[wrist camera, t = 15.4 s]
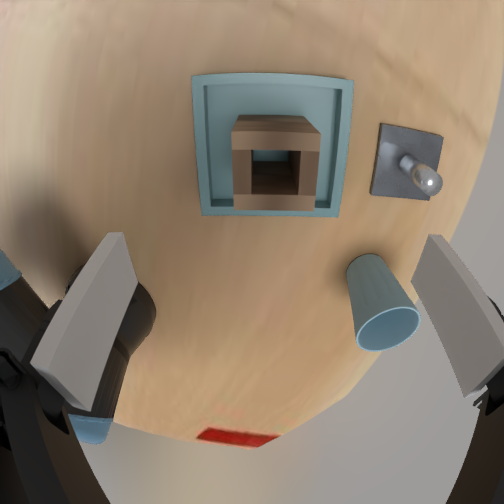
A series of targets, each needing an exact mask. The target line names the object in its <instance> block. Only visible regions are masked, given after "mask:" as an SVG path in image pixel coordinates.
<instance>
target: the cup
mask: <svg viewBox="0 0 504 504" xmlns="http://www.w3.org/2000/svg"><path fill="white" fill-rule="evenodd" d="M346 275H347V282H348V288H349V294H350V301H351V307H352V313H353V320H354V329H355V337H356V343H357V345H358V346H359V347H360V348H361V349H363V350H366V351H372V352H377V351H384V350H387V349H391V348H393V347H396V346H398V345H399V344H401V343H403V342H404V341H406V340H407V339H408V338H410V337H411V336H412V335H413V334H414V333H415V331H416V330H417V328H418V326H419V324H420V320H421V317H420V313H419V312H418V310H417V309H416V307H415V305H414V304H413V302H412V301H411V300H410V299H409V297H408V295H407V294H406V292H405V291H404V289H403V288H402V287H401V285H400V284H399V282H398V281H397V279H396V278H395V276H394V275H393V273H392V272H391V271H390V269H389V268H388V266H387V265H386V264H385V262H384V261H383V260H382V258H381V257H379V256H377V255H374V254H366V255H362V256H360V257H358V258H356V259H355V260H354V261H353V262H352V263H351V264H350V265H349V267H348V269H347V272H346Z"/></svg>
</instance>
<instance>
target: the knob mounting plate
mask: <svg viewBox="0 0 504 504" xmlns="http://www.w3.org/2000/svg"><path fill="white" fill-rule="evenodd" d="M443 138H444V137H442V136H440V135H436V134H432V133H428V132H423V131H419V130H414V129H409V128H404V127H399V126H394V125H388V124H383V123H380V131H379V138H378V146H377V152H376V159H375V165H374V171H373V177H372V183H371V188H370V194H371V195H374V196H386V197H398V198H408V199H418V200H427V201H429V200H430V196H434V195H436V194H437V193H438V192H439V191H440V190H441V188H442V184H443V181H442V177H441V176H440V175H439V174H438V173H437V168H438V163H439V159H440V154H441V149H442V144H443Z"/></svg>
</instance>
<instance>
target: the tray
mask: <svg viewBox="0 0 504 504" xmlns="http://www.w3.org/2000/svg"><path fill="white" fill-rule="evenodd" d="M353 87H354V81H353V80H346V79H339V78H331V77H322V76H312V75H299V74H282V73H226V74H209V75H196V76H192V97H193V115H194V131H195V145H196V158H197V170H198V182H199V193H200V203H201V213H202V216H208V215H248V216H308V217H338V216H339V210H340V203H341V197H342V190H343V183H344V176H345V169H346V161H347V153H348V144H349V135H350V125H351V114H352V102H353ZM239 115H293V116H304V117H305V118H306V119H307V120H308V121H309V122H310V123H311V124H312V125H313V126H314V127H315V128H316V129H317V130H318V131H319V132H320V133H321V142H320V155H319V166H318V177H317V187H316V197H315V206H314V211H272V210H234V198H233V171H232V141H231V131H232V129H233V127H234V124H235V122H236V120H237V118H238V116H239ZM288 154H289V150H253V161H287V162H288Z"/></svg>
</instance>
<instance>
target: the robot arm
mask: <svg viewBox="0 0 504 504" xmlns="http://www.w3.org/2000/svg"><path fill="white" fill-rule="evenodd" d="M411 283H412V285H413V286H414V288H415V290H416V292H417V294H418V296H419V298H420V299H421V301H422V303H423V305H424V307H425V309H426V311H427V313H428V315H429V317H430V319H431V321H432V323H433V325H434V327H435V329H436V331H437V333H438V336H439V338H440V340H441V342H442V344H443V347H444V349H445V351H446V353H447V356H448V358H449V360H450V363H451V365H452V367H453V370H454V373H455V375H456V378H457V380H458V383H459V385H460V388H461V390H462V393H463V396H464V398H466V397H468V396H471V395H473V394H476V393H477V392H479V391H480V390H481V389H482V388H483V387H484V386H485V385H487V388H488V390H487V391H486V392H484V393H483V394H482V395H481V396H480V397H479V398H478V399H477V400H476V401H474V404H473V406H476V405H477V404H478V403H479V402H480V401H481V400H482V403H481V404H480V405H479V406H478V407H477V408H479V409H480V412H479V416H478V420H477V424H476V427H475V431H474V434H473V437H472V440H471V443H470V446H469V450H468V452H467V455H466V458H465V461H464V463H463V466H462V469H461V471H460V473H459V476H458V478H457V480H456V483H455V485H454V487H453V489H452V492H451V494H450V496H449V498H448V500H447V502H446V504H504V316H503V315H501V312H500V310H499V308H498V307H497V306H496V304H495V303H494V302H493V301H492V300H491V299H490V298H489V297H488V296H487V295H486V293H485V292H484V291H483V289H482V288H481V286H480V285H479V283H478V282H477V281H476V279H475V278H474V276H473V275H472V273H471V272H470V271H469V270H468V268H467V267H466V265H465V264H464V263H463V262H462V260H461V259H460V258H459V256H458V255H457V254H456V252H455V251H454V250H453V249H452V247H451V246H450V245H449V244H448V242H447V241H446V240H445V239H444V238H443V236H442V235H434V234H429V235H428V238H427V241H426V244H425V246H424V249H423V252H422V255H421V257H420V260H419V262H418V265H417V268H416V270H415V272H414V275H413V277H412V280H411ZM155 317H156V310H155V306H154V303H153V301H152V299H151V297H150V296H149V294H148V293H147V291H146V290H145V289H144V288H143V287H142V286H141V285H140V284H139V283H138V281H137V277H136V274H135V271H134V268H133V265H132V262H131V258H130V255H129V252H128V248H127V245H126V241H125V237H124V234H123V232H109V233H107V234H106V236H105V237H104V238H103V240H102V241H101V243H100V244H99V245H98V247H97V248H96V250H95V251H94V253H93V254H92V256H91V257H90V258H89V260H88V261H87V263H86V264H85V265H84V266H82V267H80V268H78V269H77V270H76V271H75V273H74V274H73V276H72V277H71V279H70V280H69V282H68V284H67V287H66V292H65V298H64V299H63V300H58V301H57V302H56V303H55V304H54V305H53V306H52V307H51V308H50V309H49V308H48V307H47V306H46V305H45V304H44V302H43V301H42V300H41V299H40V298H39V297H38V295H37V294H36V293H35V292H34V291H33V289H32V288H31V287H30V286H29V284H28V283H27V282H26V281H25V279H24V278H23V277H22V273H21V272H20V270H18V269H16V268H15V267H14V265H13V264H12V263H11V262H10V260H9V259H8V258H7V256H6V255H5V254H4V253H3V251H2V250H1V249H0V504H110V502H109V500H108V499H107V497H106V495H105V493H104V492H103V490H102V488H101V486H100V485H99V483H98V481H97V479H96V477H95V476H94V473H93V471H92V469H91V467H90V465H89V463H88V461H87V459H86V457H85V455H84V453H83V450H82V448H81V446H80V444H79V441H81V442H85V443H89V444H100V443H102V442H103V441H104V440H105V439H106V437H107V434H108V431H109V428H110V425H111V422H113V417H114V413H115V409H116V405H117V401H118V397H119V394H120V390H121V386H122V383H123V379H124V376H125V372H126V369H127V365H128V362H129V359H130V357H131V355H132V354H133V353H134V351H135V350H136V349H137V348H138V347H139V345H140V344H141V343H142V341H143V340H144V339H145V337H147V336H148V334H149V333H150V331H151V329H152V327H153V323H154V320H155Z"/></svg>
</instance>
